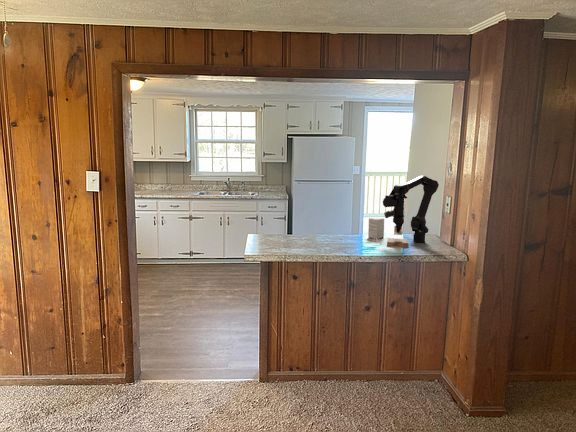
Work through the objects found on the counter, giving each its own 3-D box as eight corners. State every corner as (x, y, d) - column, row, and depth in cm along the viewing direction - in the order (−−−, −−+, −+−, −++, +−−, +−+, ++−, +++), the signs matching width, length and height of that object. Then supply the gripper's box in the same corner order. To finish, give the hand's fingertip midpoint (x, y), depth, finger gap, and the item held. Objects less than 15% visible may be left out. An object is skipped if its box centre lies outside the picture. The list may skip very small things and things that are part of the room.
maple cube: (401, 233, 250) (402, 226, 250) (401, 234, 246) (402, 227, 245) (394, 233, 251) (394, 225, 251) (394, 234, 247) (394, 227, 246)
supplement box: (375, 235, 277) (375, 217, 275) (384, 237, 271) (384, 218, 269) (367, 237, 272) (368, 218, 270) (376, 238, 266) (377, 219, 264)
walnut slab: (407, 243, 254) (407, 239, 253) (407, 248, 242) (408, 243, 242) (387, 242, 257) (387, 238, 257) (386, 247, 246) (387, 242, 245)
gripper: (385, 203, 257) (385, 228, 260) (384, 207, 239) (383, 234, 242) (404, 204, 254) (403, 229, 257) (404, 208, 236) (403, 235, 239)
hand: (398, 232), depth 249 cm, fingers closed on maple cube, 4 cm apart
